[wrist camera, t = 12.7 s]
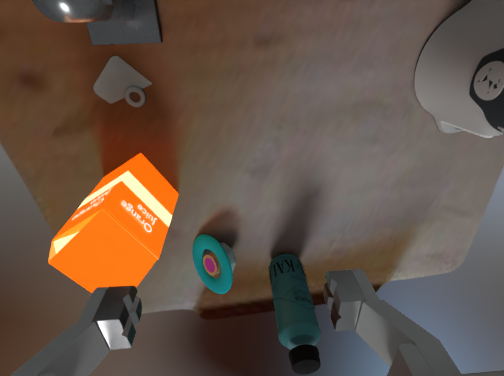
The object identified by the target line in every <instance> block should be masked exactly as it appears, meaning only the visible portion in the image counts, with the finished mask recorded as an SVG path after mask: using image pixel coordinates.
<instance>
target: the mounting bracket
mask: <svg viewBox="0 0 504 376" xmlns="http://www.w3.org/2000/svg"><path fill="white" fill-rule="evenodd" d="M151 84H152V83H151V82H150V81H149V80H147V79H146V78H145V77H143V76H142V75H141V74H140V73H138V72H137V71H136V70H135V69H133V68H132V67H131V66H130V65H128V64H127V63H126V62H125V61H123V60H122V59H121V58H120V57H118V56H113V57H111V58H110V60H109V61H108V63H107V64H106V66H105V68H104V69H103V71H102V73H101V74H100V76H99V78H98V79H97V81H96V83H95V84H94V92H95V93H96V94H97V95H99V96H100V97H102V98H103V99H104V100H106V101H107V102H109V103H110V104H112V103H114V102H116V101H118V100H120V99H122V98H125V99H126V101H127V102H128V103H129V104H130V105H131V106H133V107H141V106H143V105H144V104H145V102H146V95H145V93H144V91H143V90H142V89H143V88H145V87H147V86H149V85H151ZM135 92H137V93H138V94H139V95H140V97H141V99H140V101H139V102H134V101H132V100H131V98H130V95H131V94H132V93H135Z"/></svg>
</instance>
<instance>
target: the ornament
mask: <svg viewBox="0 0 504 376" xmlns="http://www.w3.org/2000/svg"><path fill="white" fill-rule="evenodd" d="M205 249H209V250H211V251H212V253H209V254H207V255H205V256H204V258H203V259H202V254H203V251H204V250H205ZM193 260H194V264H195V267H196V270H197V272H198V274H199V276H200V278H201V279H202V281H203V282H204V283H205V285H206V286H207V287H208V288H209V289H211V290H212V291H214V292H216V293H220V294H224V293H226V292H227V291H228V290H229V289H230V287H231V285H232V280H233V270H234V267H235V265H236V258H235V255H234V251H233V250H232V249H231V248H230V247H229V246H228V245H227V244H225V243H224V242H222V243H219V242H218V241H217V240H216V239H215V238H213V237H212V236H209V235H206V234H202V235H199V236H198V237H197V238H196V239H195V241H194V244H193ZM219 272H221V275H220V277H219V278H218V279H215V278H213V277H212V276H210V275H215V274H217V273H219ZM209 274H210V275H209Z"/></svg>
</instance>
